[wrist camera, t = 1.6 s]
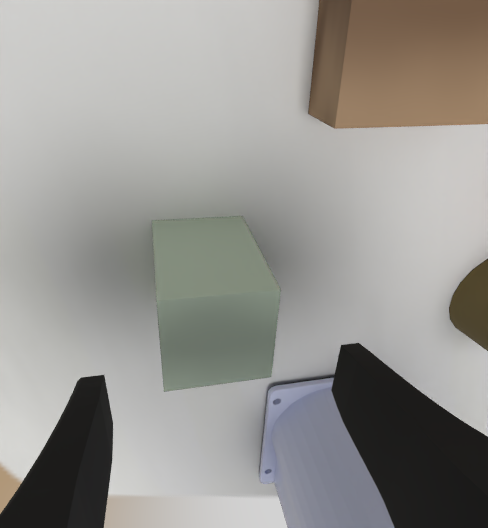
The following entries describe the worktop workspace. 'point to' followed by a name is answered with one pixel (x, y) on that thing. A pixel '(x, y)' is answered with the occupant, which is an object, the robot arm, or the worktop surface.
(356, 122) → the walnut board
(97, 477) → the robot arm
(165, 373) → the sage block
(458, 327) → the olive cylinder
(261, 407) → the worktop surface
